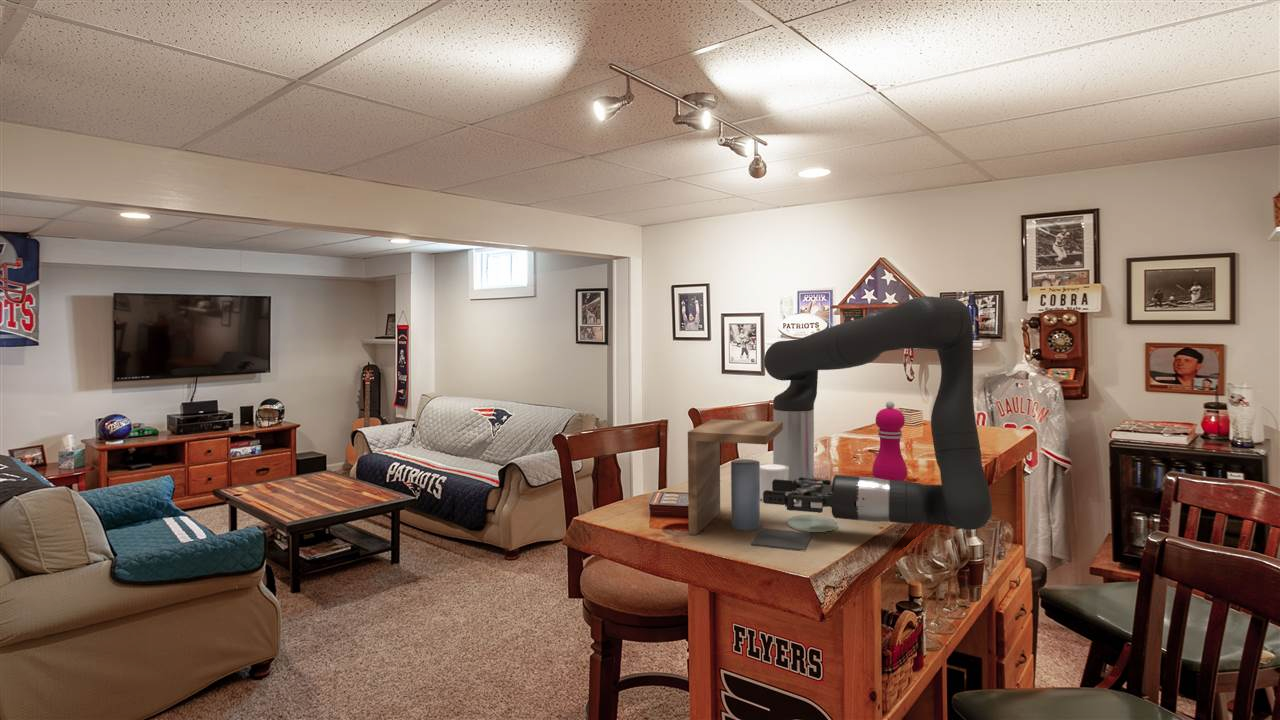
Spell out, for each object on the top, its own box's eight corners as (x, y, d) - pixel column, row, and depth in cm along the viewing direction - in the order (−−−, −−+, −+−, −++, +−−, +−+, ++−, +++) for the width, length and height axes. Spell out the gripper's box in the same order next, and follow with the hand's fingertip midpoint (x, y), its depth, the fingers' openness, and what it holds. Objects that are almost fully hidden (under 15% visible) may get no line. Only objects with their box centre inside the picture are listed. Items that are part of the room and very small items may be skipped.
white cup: (789, 503, 138) (789, 470, 138) (755, 502, 140) (755, 469, 139) (788, 495, 145) (788, 463, 145) (756, 494, 146) (756, 462, 146)
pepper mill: (884, 496, 143) (885, 403, 141) (865, 488, 150) (866, 400, 148) (914, 494, 144) (915, 402, 143) (894, 486, 151) (894, 398, 150)
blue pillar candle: (727, 523, 126) (726, 460, 125) (752, 521, 127) (752, 458, 126) (737, 531, 121) (737, 466, 120) (764, 529, 122) (764, 464, 121)
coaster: (779, 520, 127) (779, 517, 127) (821, 516, 129) (821, 513, 129) (801, 534, 118) (801, 531, 118) (847, 530, 120) (847, 526, 120)
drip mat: (761, 529, 122) (761, 527, 122) (812, 534, 118) (812, 533, 118) (750, 545, 113) (750, 543, 113) (804, 551, 110) (804, 549, 110)
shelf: (783, 517, 129) (782, 422, 128) (766, 542, 114) (766, 435, 113) (713, 510, 134) (712, 419, 133) (688, 534, 119) (687, 431, 118)
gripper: (863, 468, 122) (775, 462, 128) (858, 486, 109) (760, 479, 115) (863, 508, 123) (775, 501, 129) (858, 532, 109) (760, 522, 115)
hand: (768, 490), depth 122 cm, fingers open, 8 cm apart
